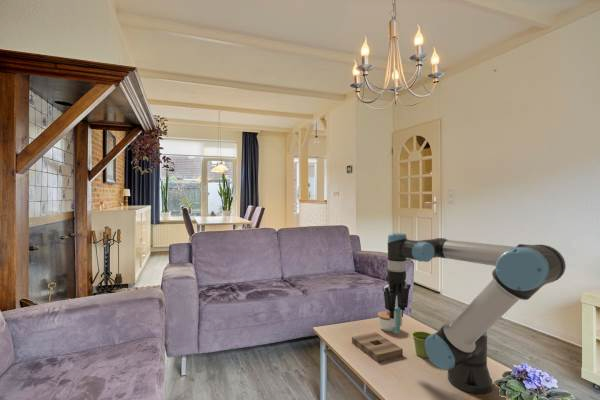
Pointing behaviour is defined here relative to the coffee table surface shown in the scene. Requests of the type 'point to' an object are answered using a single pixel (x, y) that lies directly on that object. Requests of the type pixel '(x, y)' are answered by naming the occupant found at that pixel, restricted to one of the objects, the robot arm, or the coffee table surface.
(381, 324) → the lidded jar
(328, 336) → the coffee table surface
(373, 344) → the hole block
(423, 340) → the plant pot
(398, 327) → the peg
